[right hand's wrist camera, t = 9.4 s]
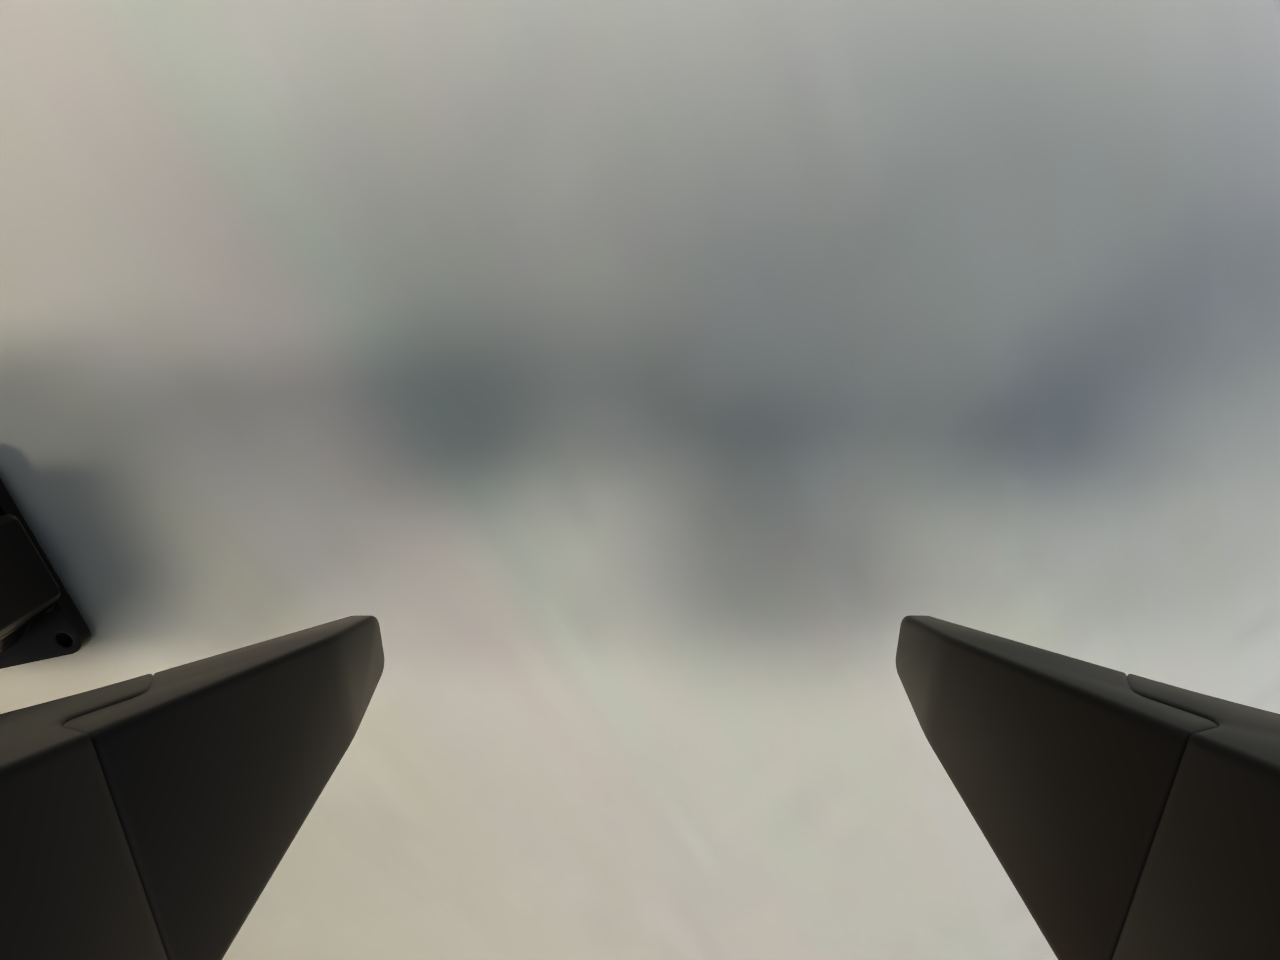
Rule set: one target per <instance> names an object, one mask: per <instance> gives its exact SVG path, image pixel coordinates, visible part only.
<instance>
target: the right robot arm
mask: <svg viewBox="0 0 1280 960" xmlns="http://www.w3.org/2000/svg"><path fill="white" fill-rule="evenodd" d="M67 634H68V635H69V636H70V637H71V638H70V637H69V636H68V635H67ZM90 640H91V633H90V630H89V628H88V626H87V625H86V623H85V621H84V620H83V618H82V616H81V614H80V613H79V611H78V609H77V608H76V606H75V604H74V603H73V601H72V599H71V598H70V596H69V594H68V592H67V591H66V589H65V587H64V586H63V584H62V582H61V581H60V579H59V577H58V576H57V574H56V572H55V570H54V569H53V567H52V565H51V564H50V562H49V560H48V559H47V557H46V555H45V554H44V552H43V550H42V549H41V547H40V545H39V543H38V542H37V540H36V538H35V537H34V535H33V533H32V532H31V530H30V528H29V527H28V525H27V523H26V521H25V520H24V518H23V516H22V515H21V513H20V511H19V510H18V508H17V506H16V505H15V503H14V501H13V499H12V498H11V496H10V494H9V493H8V491H7V489H6V488H5V486H4V484H3V483H2V481H1V479H0V669H1V668H6V667H10V666H15V665H20V664H25V663H30V662H34V661H39V660H44V659H49V658H54V657H58V656H63V655H68V654H73V653H75V652H77V651H79V650H80V649H81V648H83V647H84V646H85V645H87V644H88V643H89V641H90ZM383 668H384V653H383V647H382V640H381V634H380V627H379V623H378V620H377V619H376V617H374V616H350V617H346V618H343V619H339V620H336V621H333V622H329V623H326V624H322V625H319V626H315V627H312V628H308V629H305V630H302V631H298V632H295V633H291V634H288V635H284V636H281V637H278V638H274V639H271V640H267V641H264V642H260V643H257V644H253V645H250V646H247V647H243V648H240V649H236V650H233V651H229V652H226V653H222V654H219V655H216V656H212V657H209V658H205V659H202V660H198V661H195V662H191V663H188V664H185V665H181V666H178V667H174V668H171V669H167V670H164V671H160V672H157V673H155V674H154V676H153V675H151V674H147V675H144V676H140V677H137V678H133V679H130V680H126V681H123V682H119V683H116V684H112V685H108V686H105V687H101V688H98V689H94V690H91V691H87V692H83V693H80V694H76V695H72V696H68V697H65V698H61V699H57V700H53V701H50V702H46V703H42V704H38V705H35V706H31V707H27V708H23V709H19V710H15V711H11V712H7V713H3V714H0V960H222V959H223V957H224V955H225V953H226V952H227V950H228V948H229V947H230V945H231V943H232V942H233V940H234V938H235V937H236V935H237V933H238V932H239V930H240V928H241V927H242V925H243V923H244V922H245V920H246V918H247V917H248V915H249V913H250V911H251V910H252V908H253V906H254V905H255V903H256V901H257V900H258V898H259V896H260V895H261V893H262V891H263V890H264V888H265V886H266V885H267V883H268V881H269V880H270V878H271V876H272V875H273V873H274V871H275V869H276V868H277V866H278V864H279V863H280V861H281V859H282V858H283V856H284V854H285V853H286V851H287V849H288V848H289V846H290V844H291V843H292V841H293V839H294V838H295V836H296V834H297V833H298V831H299V829H300V828H301V826H302V824H303V822H304V821H305V819H306V817H307V816H308V814H309V812H310V811H311V809H312V807H313V806H314V804H315V802H316V801H317V799H318V797H319V796H320V794H321V792H322V791H323V789H324V787H325V786H326V784H327V782H328V780H329V779H330V777H331V775H332V774H333V772H334V770H335V769H336V767H337V765H338V764H339V762H340V760H341V759H342V757H343V755H344V754H345V752H346V750H347V749H348V747H349V745H350V743H351V741H352V740H353V738H354V736H355V734H356V732H357V730H358V728H359V725H360V723H361V721H362V719H363V716H364V714H365V712H366V709H367V707H368V705H369V702H370V700H371V698H372V696H373V693H374V691H375V689H376V686H377V684H378V682H379V679H380V677H381V675H382V672H383ZM896 668H897V672H898V675H899V677H900V679H901V682H902V684H903V686H904V689H905V691H906V693H907V696H908V698H909V700H910V702H911V705H912V707H913V709H914V712H915V714H916V716H917V719H918V721H919V723H920V725H921V728H922V730H923V732H924V734H925V736H926V738H927V740H928V741H929V743H930V745H931V747H932V749H933V750H934V752H935V754H936V755H937V757H938V759H939V760H940V762H941V764H942V765H943V767H944V769H945V770H946V772H947V774H948V775H949V777H950V779H951V780H952V782H953V784H954V786H955V787H956V789H957V791H958V792H959V794H960V796H961V797H962V799H963V801H964V802H965V804H966V806H967V807H968V809H969V811H970V812H971V814H972V816H973V817H974V819H975V821H976V822H977V824H978V826H979V828H980V829H981V831H982V833H983V834H984V836H985V838H986V839H987V841H988V843H989V844H990V846H991V848H992V849H993V851H994V853H995V854H996V856H997V858H998V859H999V861H1000V863H1001V864H1002V866H1003V868H1004V869H1005V871H1006V873H1007V875H1008V876H1009V878H1010V880H1011V881H1012V883H1013V885H1014V886H1015V888H1016V890H1017V891H1018V893H1019V895H1020V896H1021V898H1022V900H1023V901H1024V903H1025V905H1026V906H1027V908H1028V910H1029V911H1030V913H1031V915H1032V917H1033V918H1034V920H1035V922H1036V923H1037V925H1038V927H1039V928H1040V930H1041V932H1042V933H1043V935H1044V937H1045V938H1046V940H1047V942H1048V943H1049V945H1050V947H1051V948H1052V950H1053V952H1054V953H1055V955H1056V957H1057V959H1058V960H1280V714H1277V713H1273V712H1269V711H1265V710H1261V709H1257V708H1253V707H1249V706H1246V705H1242V704H1238V703H1234V702H1230V701H1227V700H1223V699H1219V698H1215V697H1212V696H1208V695H1204V694H1200V693H1197V692H1193V691H1189V690H1186V689H1182V688H1179V687H1175V686H1172V685H1168V684H1164V683H1161V682H1157V681H1154V680H1150V679H1147V678H1143V677H1140V676H1136V675H1133V674H1129V675H1127V676H1126V674H1125V673H1123V672H1120V671H1116V670H1113V669H1109V668H1106V667H1102V666H1099V665H1095V664H1092V663H1089V662H1085V661H1082V660H1078V659H1075V658H1071V657H1068V656H1064V655H1061V654H1058V653H1054V652H1051V651H1047V650H1044V649H1040V648H1037V647H1033V646H1030V645H1027V644H1023V643H1020V642H1016V641H1013V640H1009V639H1006V638H1002V637H999V636H996V635H992V634H989V633H985V632H982V631H978V630H975V629H972V628H968V627H965V626H961V625H958V624H954V623H951V622H947V621H944V620H941V619H937V618H934V617H930V616H906V617H904V619H903V620H902V623H901V627H900V634H899V640H898V647H897V653H896Z"/></svg>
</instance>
